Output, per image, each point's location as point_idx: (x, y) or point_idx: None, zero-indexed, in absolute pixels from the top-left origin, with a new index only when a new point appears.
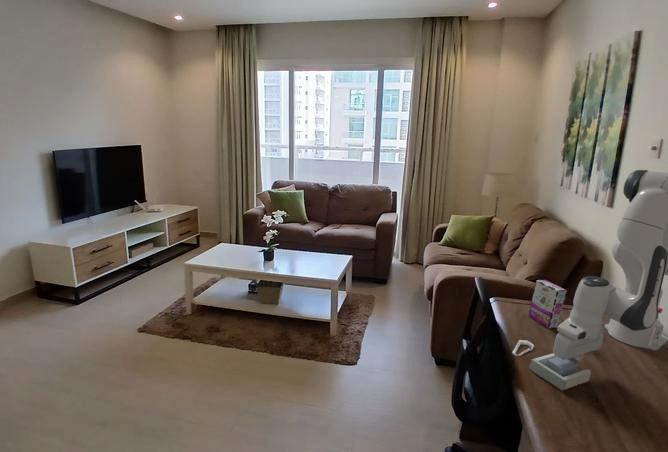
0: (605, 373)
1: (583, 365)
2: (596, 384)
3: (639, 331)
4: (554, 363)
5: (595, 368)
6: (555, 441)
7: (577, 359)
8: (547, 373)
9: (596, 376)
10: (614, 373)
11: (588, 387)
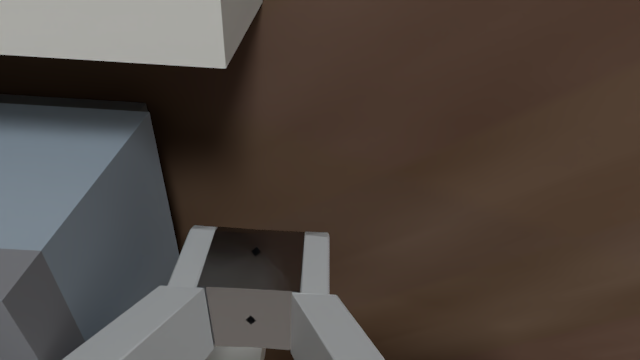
0: (562, 323)
1: (544, 185)
2: (289, 352)
3: None
4: None
5: (589, 260)
6: None
7: (294, 338)
8: None
9: (421, 314)
10: (635, 346)
11: None
